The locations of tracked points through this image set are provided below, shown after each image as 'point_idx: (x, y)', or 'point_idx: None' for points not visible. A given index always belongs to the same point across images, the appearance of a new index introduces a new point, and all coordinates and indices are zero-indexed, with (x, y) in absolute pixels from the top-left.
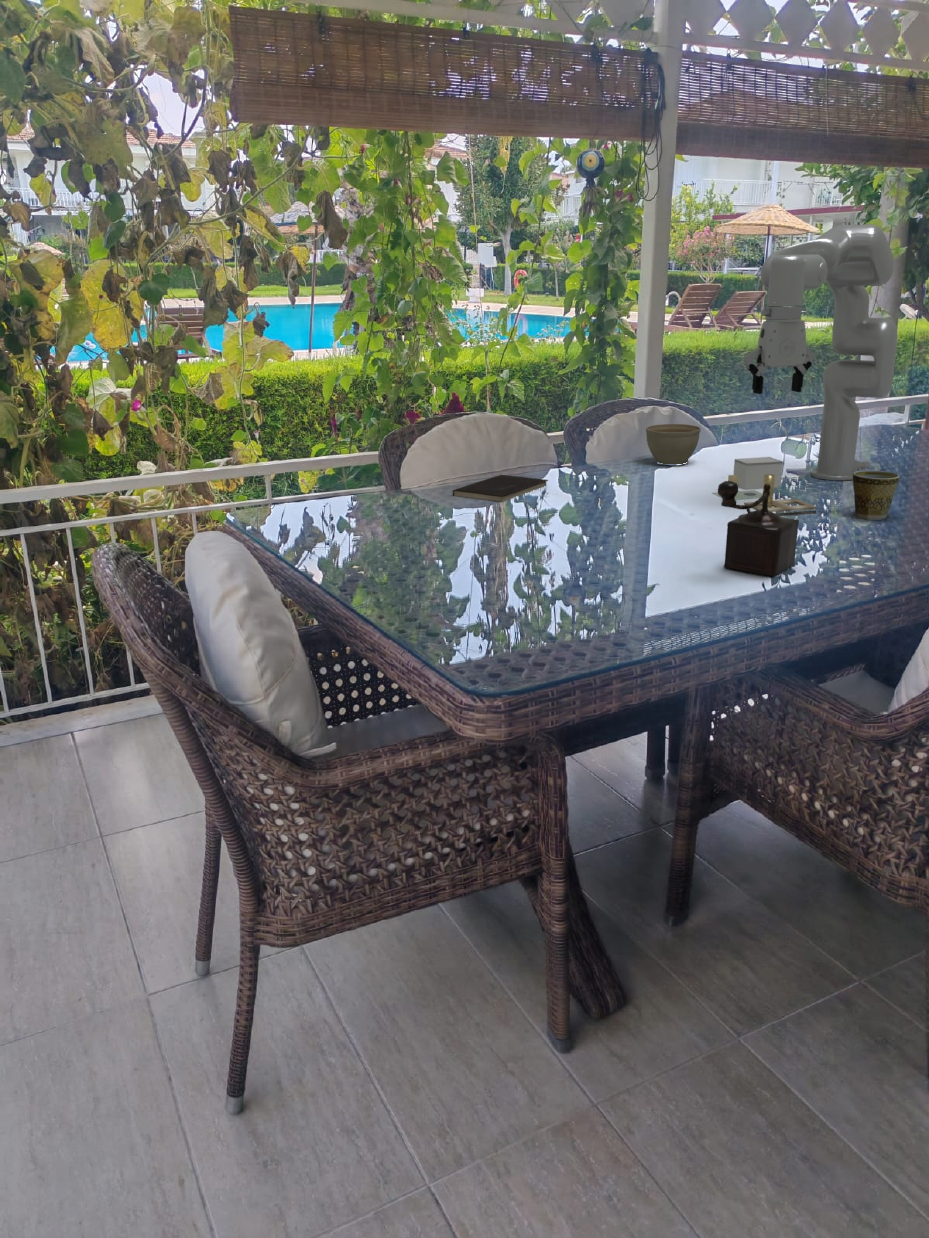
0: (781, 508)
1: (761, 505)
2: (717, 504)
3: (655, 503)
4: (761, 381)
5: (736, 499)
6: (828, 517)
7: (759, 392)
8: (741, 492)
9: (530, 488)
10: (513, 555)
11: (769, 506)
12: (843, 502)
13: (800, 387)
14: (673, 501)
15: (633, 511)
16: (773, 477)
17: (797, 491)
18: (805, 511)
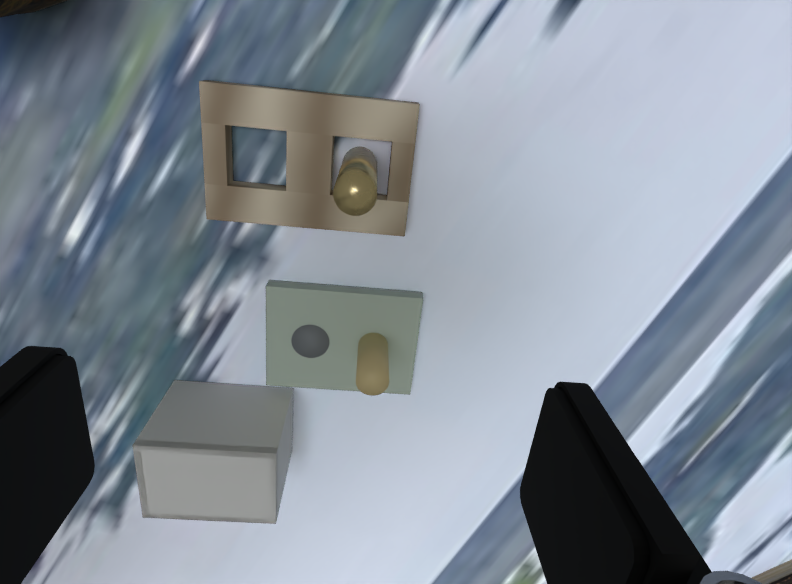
0: (335, 110)
1: None
2: (441, 310)
3: (593, 378)
4: (639, 487)
5: (389, 298)
6: (191, 7)
7: (587, 394)
8: (321, 370)
9: (780, 575)
10: None
11: (360, 151)
12: (31, 191)
13: (10, 371)
14: (533, 382)
15: (710, 320)
16: (349, 171)
17: (117, 369)
18: (247, 85)
